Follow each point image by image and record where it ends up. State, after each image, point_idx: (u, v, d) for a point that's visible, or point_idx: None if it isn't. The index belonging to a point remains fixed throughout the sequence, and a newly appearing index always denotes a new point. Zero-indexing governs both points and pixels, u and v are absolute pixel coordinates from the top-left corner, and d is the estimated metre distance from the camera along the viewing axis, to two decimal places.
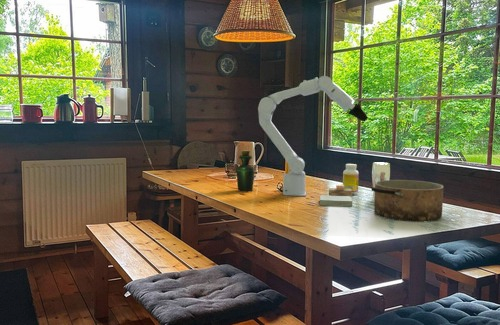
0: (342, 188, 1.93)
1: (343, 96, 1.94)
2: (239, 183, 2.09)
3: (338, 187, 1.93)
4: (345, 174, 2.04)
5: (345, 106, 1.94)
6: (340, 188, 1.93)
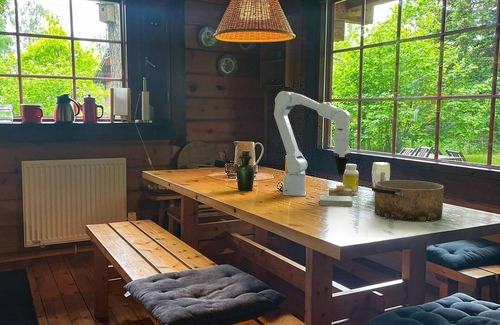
0: (342, 188, 1.93)
1: (344, 141, 1.90)
2: (239, 183, 2.09)
3: (338, 187, 1.93)
4: (345, 174, 2.04)
5: (337, 149, 1.91)
6: (340, 188, 1.93)
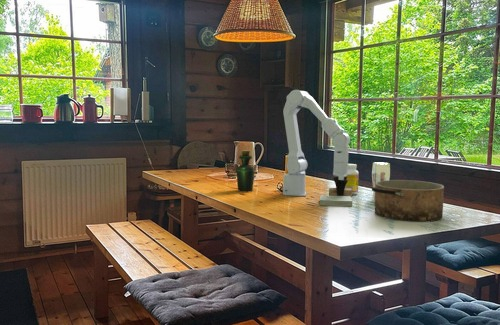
0: None
1: (343, 163, 1.91)
2: (239, 183, 2.09)
3: None
4: None
5: (337, 172, 1.92)
6: None
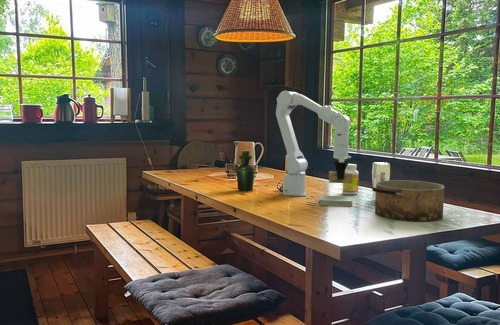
0: None
1: (343, 146, 1.89)
2: (239, 183, 2.09)
3: None
4: None
5: (337, 154, 1.90)
6: None
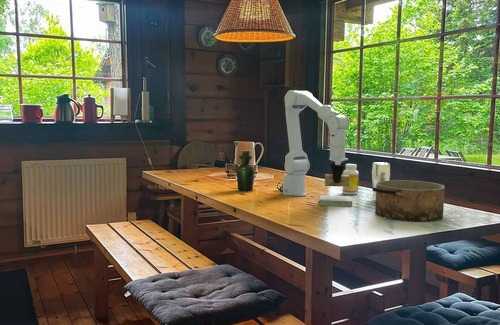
0: None
1: (340, 148, 1.80)
2: (239, 183, 2.09)
3: None
4: (345, 174, 2.04)
5: (333, 156, 1.81)
6: None
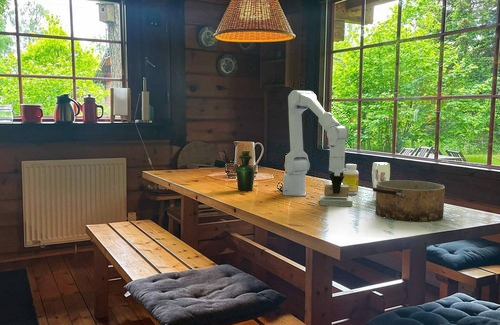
0: None
1: (339, 159, 1.80)
2: (239, 183, 2.09)
3: None
4: (345, 174, 2.04)
5: (333, 167, 1.81)
6: None
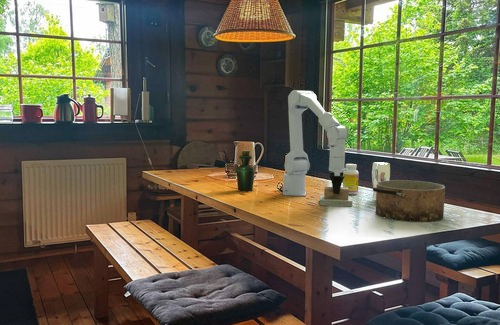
0: None
1: (339, 158, 1.80)
2: (239, 183, 2.09)
3: None
4: (345, 174, 2.04)
5: (333, 167, 1.81)
6: None
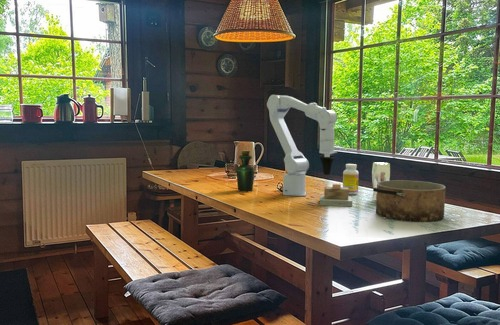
0: (339, 187, 1.82)
1: (329, 141, 1.88)
2: (239, 183, 2.09)
3: (334, 186, 1.82)
4: (345, 174, 2.04)
5: (323, 149, 1.89)
6: (336, 187, 1.82)
